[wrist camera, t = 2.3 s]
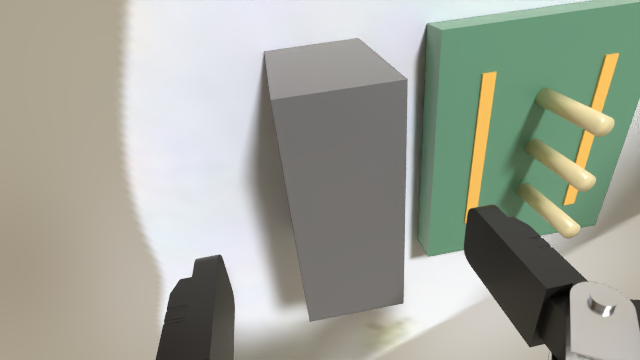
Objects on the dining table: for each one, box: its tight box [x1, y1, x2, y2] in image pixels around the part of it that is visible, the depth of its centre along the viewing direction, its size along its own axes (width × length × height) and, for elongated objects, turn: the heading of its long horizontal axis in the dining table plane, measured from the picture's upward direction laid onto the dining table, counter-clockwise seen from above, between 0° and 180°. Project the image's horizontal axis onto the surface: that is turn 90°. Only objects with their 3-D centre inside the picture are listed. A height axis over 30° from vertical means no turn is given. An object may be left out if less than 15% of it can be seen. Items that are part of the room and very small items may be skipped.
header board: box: [418, 0, 640, 257], centre depth 18 cm, size 12×10×5 cm
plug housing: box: [264, 38, 407, 322], centre depth 16 cm, size 10×4×6 cm, turn 6°
